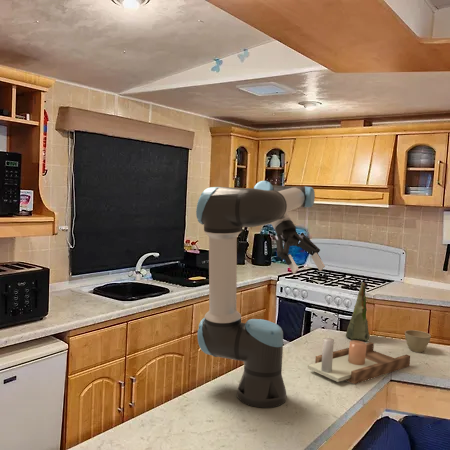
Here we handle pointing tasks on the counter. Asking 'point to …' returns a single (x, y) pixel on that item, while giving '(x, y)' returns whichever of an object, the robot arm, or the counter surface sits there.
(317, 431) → the counter surface
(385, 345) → the counter surface
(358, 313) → the olive tapered piece
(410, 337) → the flower pot
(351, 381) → the tray
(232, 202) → the robot arm
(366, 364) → the cream flat panel
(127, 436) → the counter surface
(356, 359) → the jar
